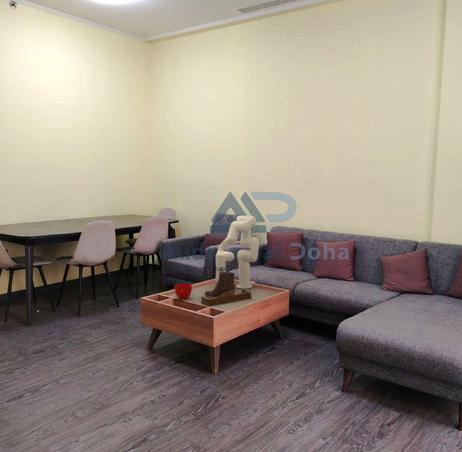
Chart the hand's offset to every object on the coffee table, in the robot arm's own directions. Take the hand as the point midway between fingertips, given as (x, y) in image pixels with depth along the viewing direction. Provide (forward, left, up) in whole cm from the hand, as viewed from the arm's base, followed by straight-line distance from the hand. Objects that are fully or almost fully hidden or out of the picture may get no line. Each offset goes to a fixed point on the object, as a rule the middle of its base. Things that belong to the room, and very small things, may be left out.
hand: (221, 292), depth 354 cm
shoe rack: (+4, +15, -3) cm, 16 cm away
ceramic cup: (+29, -7, -3) cm, 30 cm away
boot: (+4, +5, -3) cm, 7 cm away
